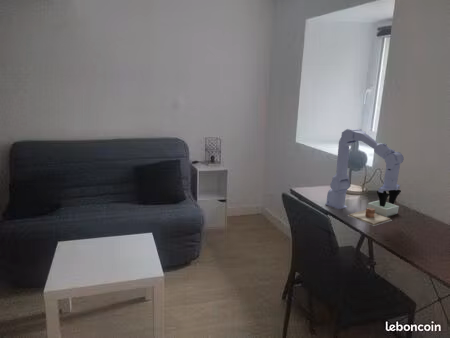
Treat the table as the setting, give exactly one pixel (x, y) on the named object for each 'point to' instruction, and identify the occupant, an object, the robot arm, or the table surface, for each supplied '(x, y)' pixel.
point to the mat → (371, 224)
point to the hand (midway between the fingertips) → (386, 204)
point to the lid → (369, 216)
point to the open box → (384, 208)
